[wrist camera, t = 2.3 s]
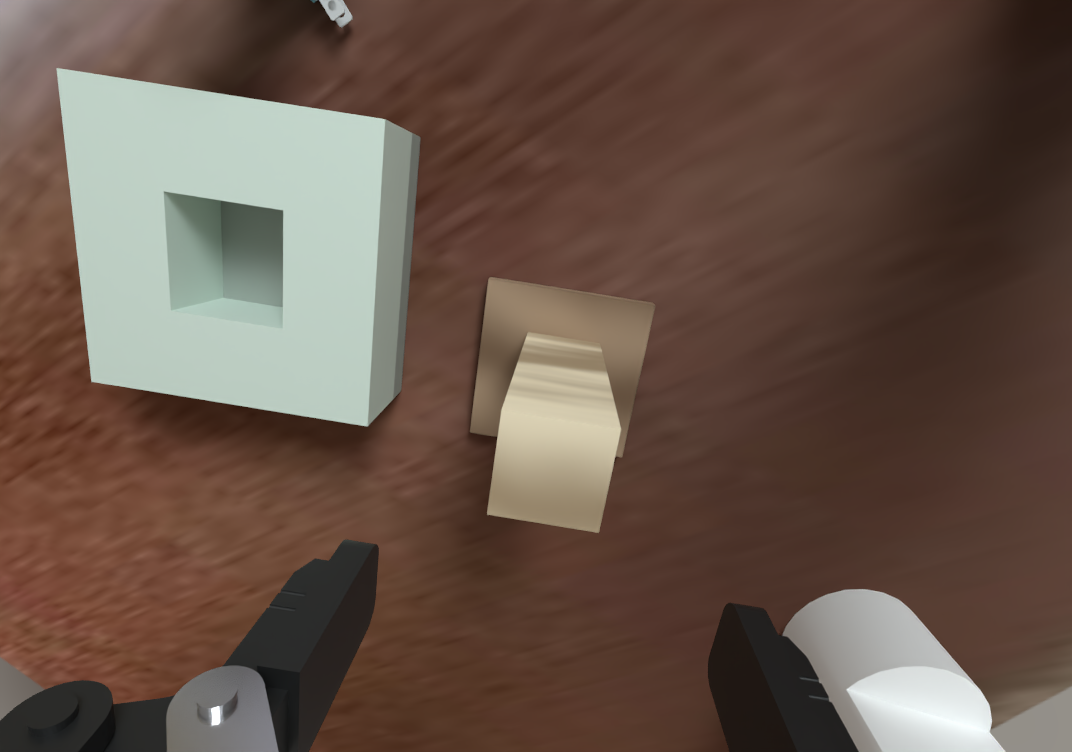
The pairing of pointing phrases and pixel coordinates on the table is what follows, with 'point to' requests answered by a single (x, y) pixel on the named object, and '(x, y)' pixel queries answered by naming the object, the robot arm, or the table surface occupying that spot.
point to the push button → (336, 11)
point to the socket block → (240, 246)
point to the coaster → (563, 316)
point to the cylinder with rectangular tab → (890, 676)
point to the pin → (556, 436)
